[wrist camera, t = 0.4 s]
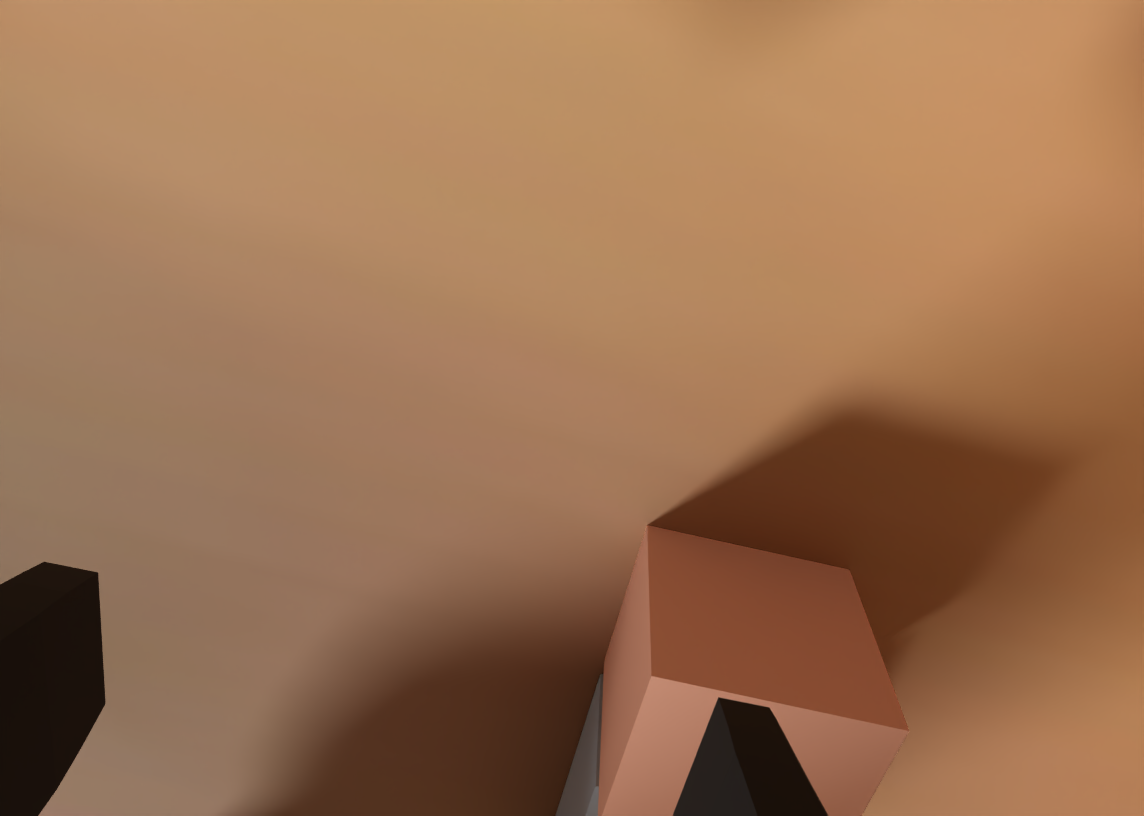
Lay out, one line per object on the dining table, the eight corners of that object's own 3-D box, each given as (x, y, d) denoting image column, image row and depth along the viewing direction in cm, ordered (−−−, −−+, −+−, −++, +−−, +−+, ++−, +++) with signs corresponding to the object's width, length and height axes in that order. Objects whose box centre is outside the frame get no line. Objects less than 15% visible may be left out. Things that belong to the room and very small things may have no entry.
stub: (788, 698, 22) (827, 877, 18) (604, 659, 22) (596, 830, 18) (848, 568, 21) (909, 731, 16) (647, 523, 20) (651, 676, 16)
